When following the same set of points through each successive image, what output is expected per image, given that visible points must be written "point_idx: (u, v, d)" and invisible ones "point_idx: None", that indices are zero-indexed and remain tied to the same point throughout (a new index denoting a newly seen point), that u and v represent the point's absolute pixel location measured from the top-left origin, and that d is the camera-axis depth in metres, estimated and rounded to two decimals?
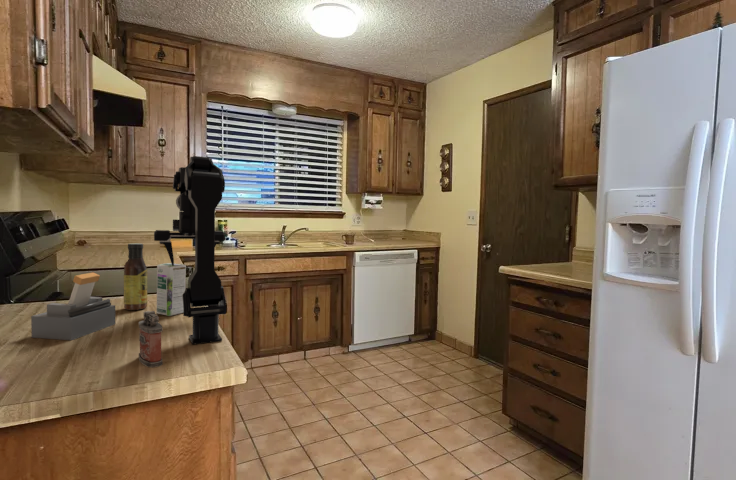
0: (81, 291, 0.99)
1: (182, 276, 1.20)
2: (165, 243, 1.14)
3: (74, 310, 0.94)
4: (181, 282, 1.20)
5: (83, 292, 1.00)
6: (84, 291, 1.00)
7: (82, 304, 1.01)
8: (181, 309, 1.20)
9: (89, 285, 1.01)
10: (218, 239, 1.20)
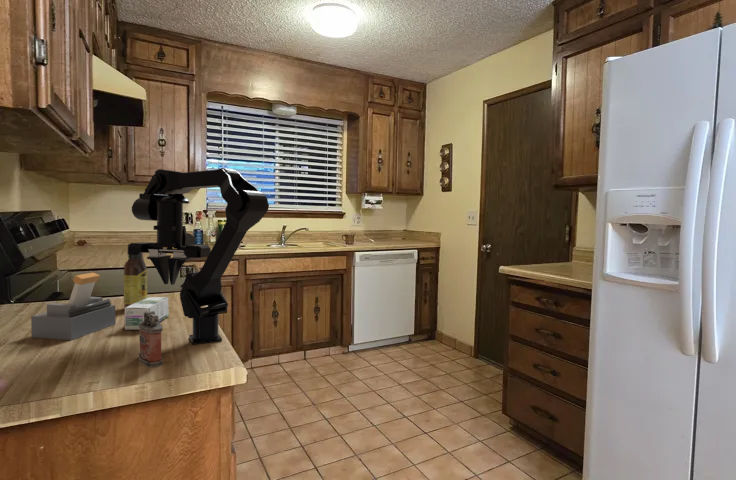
0: (81, 291, 0.99)
1: (153, 309, 1.05)
2: (151, 258, 0.98)
3: (74, 310, 0.94)
4: (155, 309, 1.07)
5: (83, 292, 1.00)
6: (84, 291, 1.00)
7: (82, 304, 1.01)
8: (167, 302, 1.15)
9: (89, 285, 1.01)
10: (191, 255, 0.97)
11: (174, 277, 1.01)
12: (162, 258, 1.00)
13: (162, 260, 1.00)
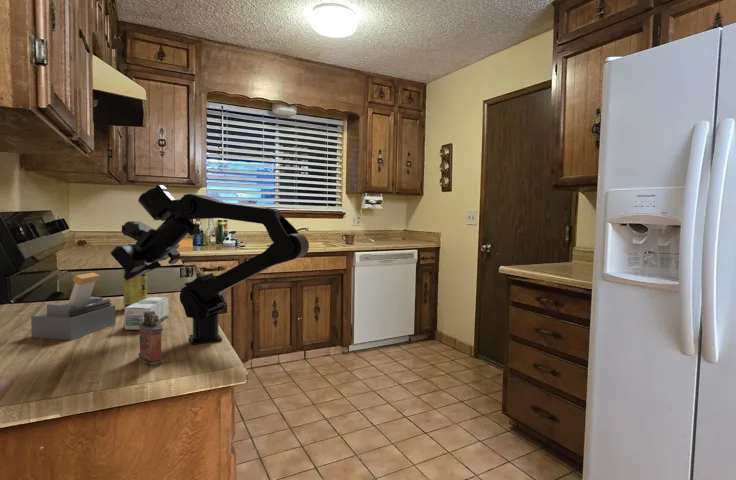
0: (81, 291, 0.99)
1: (153, 309, 1.05)
2: (145, 270, 0.96)
3: (74, 310, 0.94)
4: (156, 309, 1.07)
5: (83, 292, 1.00)
6: (84, 291, 1.00)
7: (82, 304, 1.01)
8: (167, 302, 1.15)
9: (89, 285, 1.01)
10: (173, 263, 1.05)
11: None
12: None
13: None
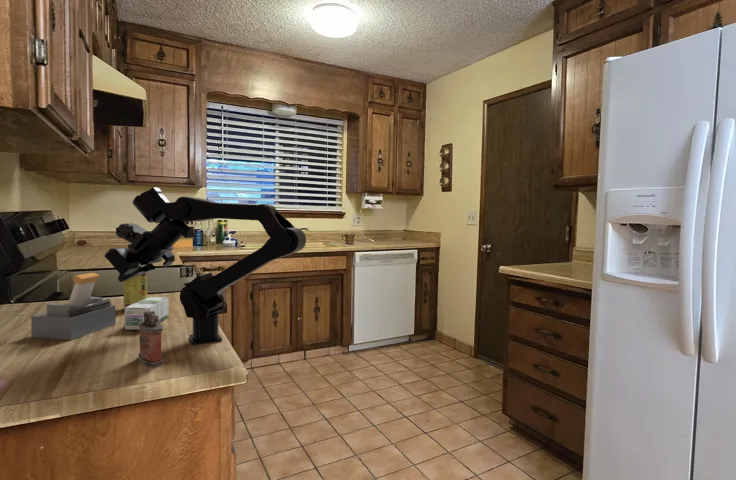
0: (81, 291, 0.99)
1: (153, 309, 1.05)
2: (139, 272, 0.96)
3: (74, 310, 0.94)
4: (156, 309, 1.07)
5: (83, 292, 1.00)
6: (84, 291, 1.00)
7: (82, 304, 1.01)
8: (167, 302, 1.15)
9: (89, 285, 1.01)
10: (168, 264, 1.05)
11: None
12: None
13: None
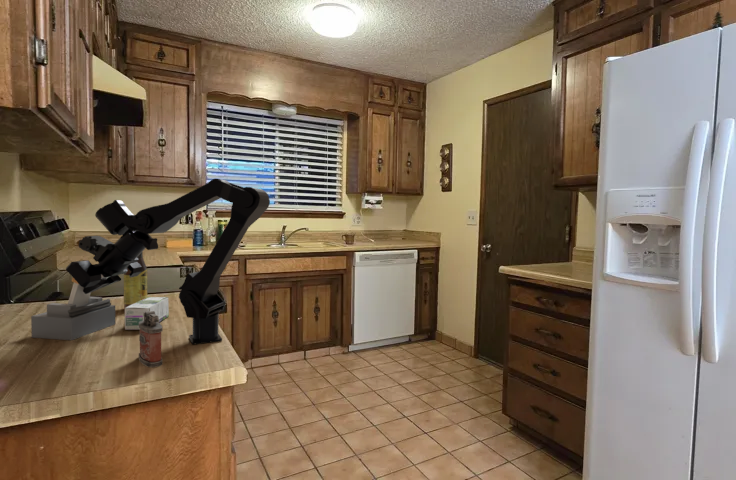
0: (80, 291, 0.99)
1: (153, 309, 1.05)
2: (103, 284, 0.97)
3: (74, 310, 0.94)
4: (156, 309, 1.07)
5: (82, 291, 1.00)
6: None
7: (82, 304, 1.01)
8: (167, 302, 1.15)
9: None
10: (134, 275, 1.06)
11: None
12: None
13: None
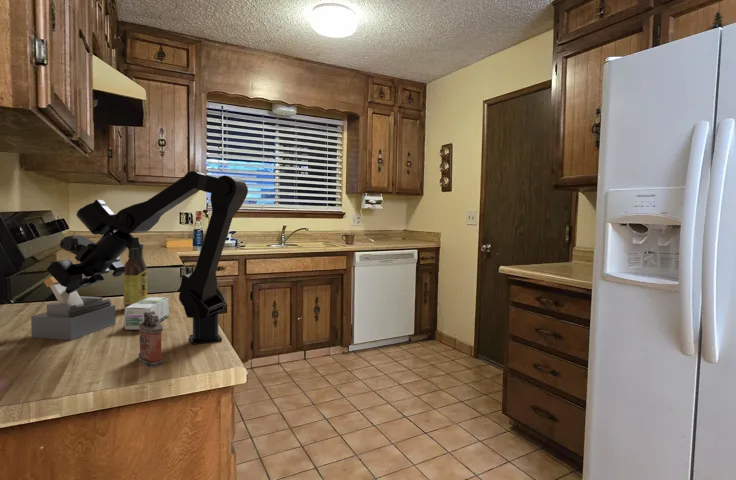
0: (63, 290, 0.99)
1: (153, 309, 1.05)
2: (85, 284, 0.97)
3: (74, 310, 0.94)
4: (156, 309, 1.07)
5: None
6: (65, 289, 1.00)
7: (76, 302, 1.01)
8: (167, 302, 1.15)
9: None
10: (118, 275, 1.07)
11: None
12: None
13: None
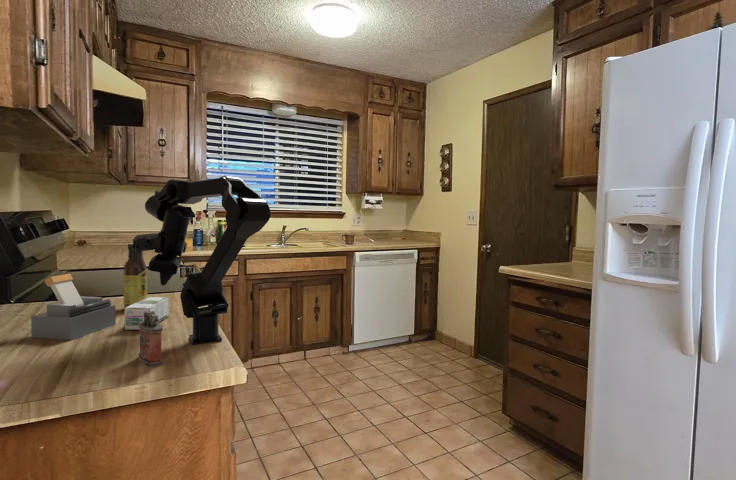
0: (63, 290, 0.99)
1: (153, 309, 1.05)
2: (178, 266, 1.04)
3: (74, 310, 0.94)
4: (156, 309, 1.07)
5: (66, 291, 1.00)
6: (66, 289, 1.00)
7: (76, 302, 1.01)
8: (167, 302, 1.15)
9: (67, 284, 1.01)
10: (185, 250, 1.12)
11: None
12: None
13: None
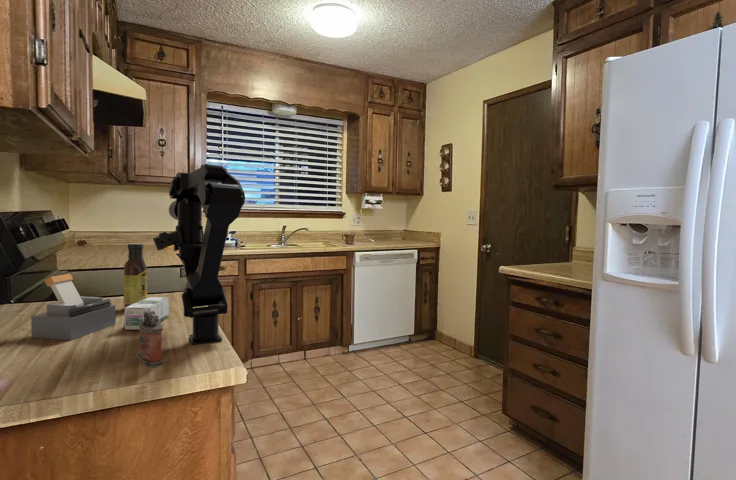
0: (63, 290, 0.99)
1: (153, 309, 1.05)
2: None
3: (74, 310, 0.94)
4: (156, 309, 1.07)
5: (66, 291, 1.00)
6: (66, 289, 1.00)
7: (76, 302, 1.01)
8: (167, 302, 1.15)
9: (67, 284, 1.01)
10: None
11: None
12: None
13: None
